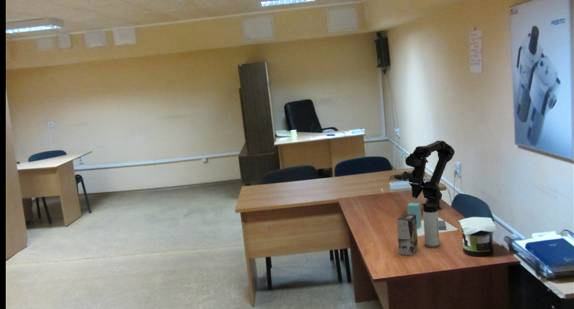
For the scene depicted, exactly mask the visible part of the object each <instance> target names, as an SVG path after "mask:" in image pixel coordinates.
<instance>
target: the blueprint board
mask: <svg viewBox="0 0 574 309" xmlns="http://www.w3.org/2000/svg"><path fill="white" fill-rule="evenodd" d="M438 221H445V224H446V230H439V234H440V233H446V232H453V231H458V230H459V229H458V228H456V227H455V226H453V225H452V224H450V223H449V222H447V221H446V220H444V219H442V218H441V217H438ZM422 236H423V237H424V236H425V234H424V219H421V227H420V228H419V229H417V237H422Z"/></svg>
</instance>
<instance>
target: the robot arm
mask: <svg viewBox="0 0 574 309" xmlns="http://www.w3.org/2000/svg"><path fill="white" fill-rule="evenodd" d="M433 152H437V158H438V160H437V163H436V165H435V167H434V170H433V172H432V175H431V177H430V180H429V181H427V180H425V181H424V178H425V174H426V172H425V171H426V166H427V164H428V163H429V161H428V159H427V158H429V157H430V156H431V155H432V153H433ZM454 156H455V149H454V148H453V147H452V145H450V144H448V143H447V142H446V141H445V140H435V141H433V142H432V143H430V144H426V145H422V146H421V145H418V146H415V149H414V150H413V151H412V153H409V155H408V156H407V157H406V158H405V160H404V161H405V165H406V166H408V167H411V168H413V170H411V172H408V171H403V172H402V173H403V174H401V178H402V181H404V182H406V181H408V183H409V185H410V186H411V195H412V196H411V198H414V199H418V198H419V196H421V193H422V195H423V199H426V201H425V203H433V204H435V205H437V209H438V210H442V207H441V205H440V204H441V203H440V200H441V199H442V197H443V193H442V192H441V190H440V189H441V188H440V181H441V179H442V176H443V174H444V171H445V170H446V166H447V163H448V162H450V161H451V160H452V159H453V157H454Z"/></svg>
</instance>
